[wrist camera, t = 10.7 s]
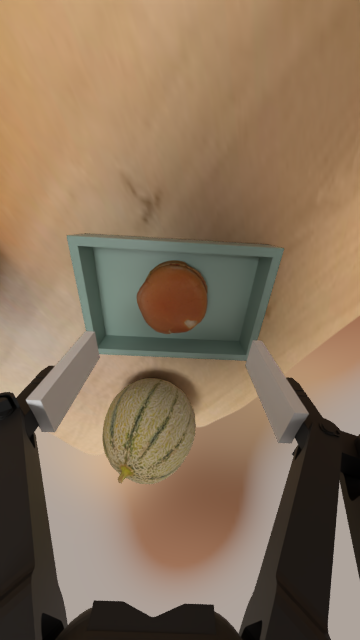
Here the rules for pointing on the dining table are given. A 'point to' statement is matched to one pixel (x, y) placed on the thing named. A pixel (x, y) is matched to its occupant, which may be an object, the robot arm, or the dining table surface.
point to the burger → (173, 297)
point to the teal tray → (131, 272)
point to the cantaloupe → (148, 431)
